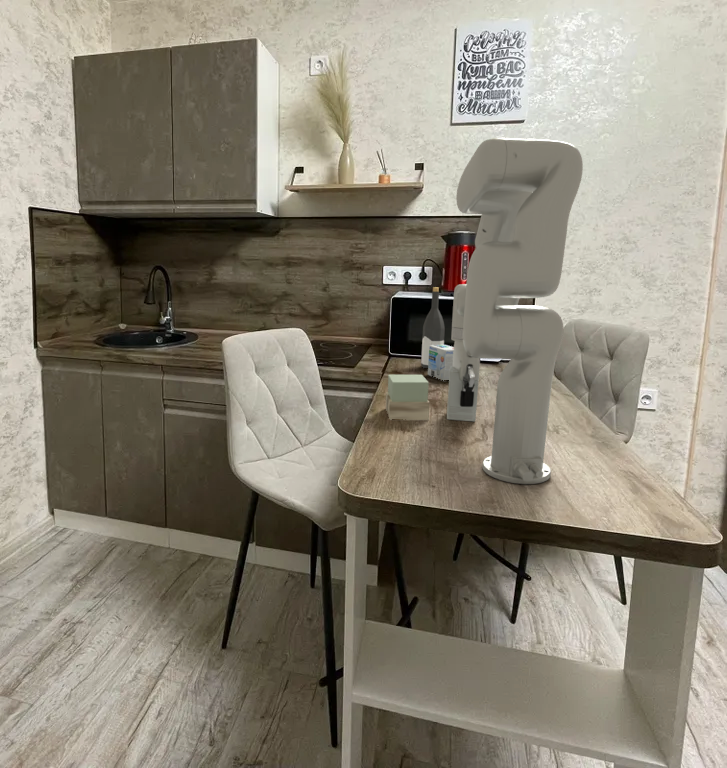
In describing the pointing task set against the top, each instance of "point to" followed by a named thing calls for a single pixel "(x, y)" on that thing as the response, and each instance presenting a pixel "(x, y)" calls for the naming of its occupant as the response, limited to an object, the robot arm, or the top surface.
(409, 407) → the tower base
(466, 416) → the supplement box
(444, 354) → the light bulb box
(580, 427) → the top surface
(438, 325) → the wine bottle
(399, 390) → the tower top
